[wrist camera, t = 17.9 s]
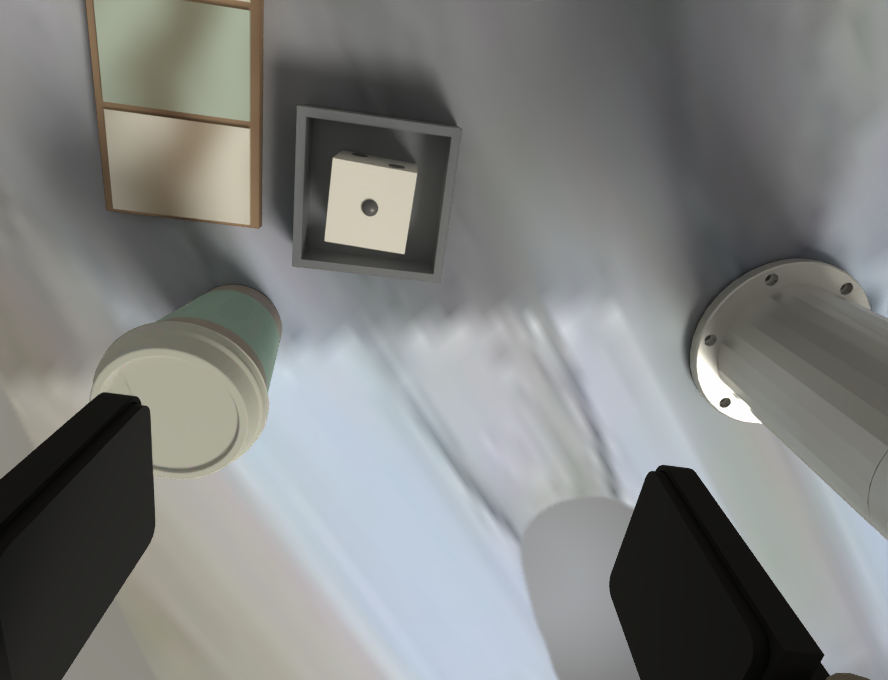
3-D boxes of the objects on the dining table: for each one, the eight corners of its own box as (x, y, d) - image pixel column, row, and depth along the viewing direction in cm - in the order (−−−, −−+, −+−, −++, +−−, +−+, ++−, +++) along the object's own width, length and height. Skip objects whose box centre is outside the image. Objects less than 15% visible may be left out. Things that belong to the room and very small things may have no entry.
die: (416, 162, 34) (417, 172, 30) (405, 235, 36) (404, 254, 32) (341, 148, 34) (331, 156, 30) (333, 223, 36) (322, 241, 31)
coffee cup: (198, 240, 36) (105, 305, 25) (322, 300, 38) (287, 384, 27) (155, 349, 39) (55, 450, 28) (273, 398, 41) (223, 511, 30)
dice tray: (457, 125, 34) (461, 128, 31) (438, 269, 38) (440, 282, 35) (306, 104, 33) (296, 105, 30) (300, 253, 37) (292, 266, 34)
